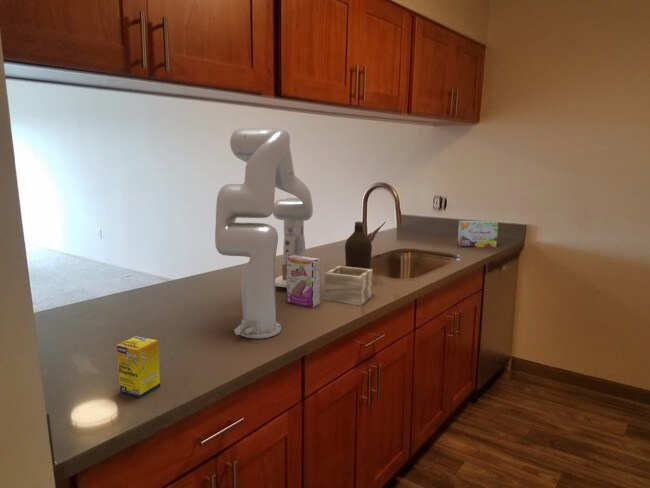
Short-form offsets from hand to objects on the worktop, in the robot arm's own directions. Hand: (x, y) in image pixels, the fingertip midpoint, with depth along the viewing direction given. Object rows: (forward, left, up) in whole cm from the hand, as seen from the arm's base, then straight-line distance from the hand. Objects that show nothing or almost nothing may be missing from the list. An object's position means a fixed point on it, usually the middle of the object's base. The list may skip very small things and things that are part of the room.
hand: (294, 276), depth 176 cm
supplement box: (-84, -7, -5) cm, 85 cm away
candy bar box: (-16, -12, -5) cm, 21 cm away
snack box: (+122, -55, -5) cm, 134 cm away
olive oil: (+17, -20, -5) cm, 27 cm away
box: (-3, -24, -4) cm, 25 cm away
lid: (0, 0, -2) cm, 2 cm away
